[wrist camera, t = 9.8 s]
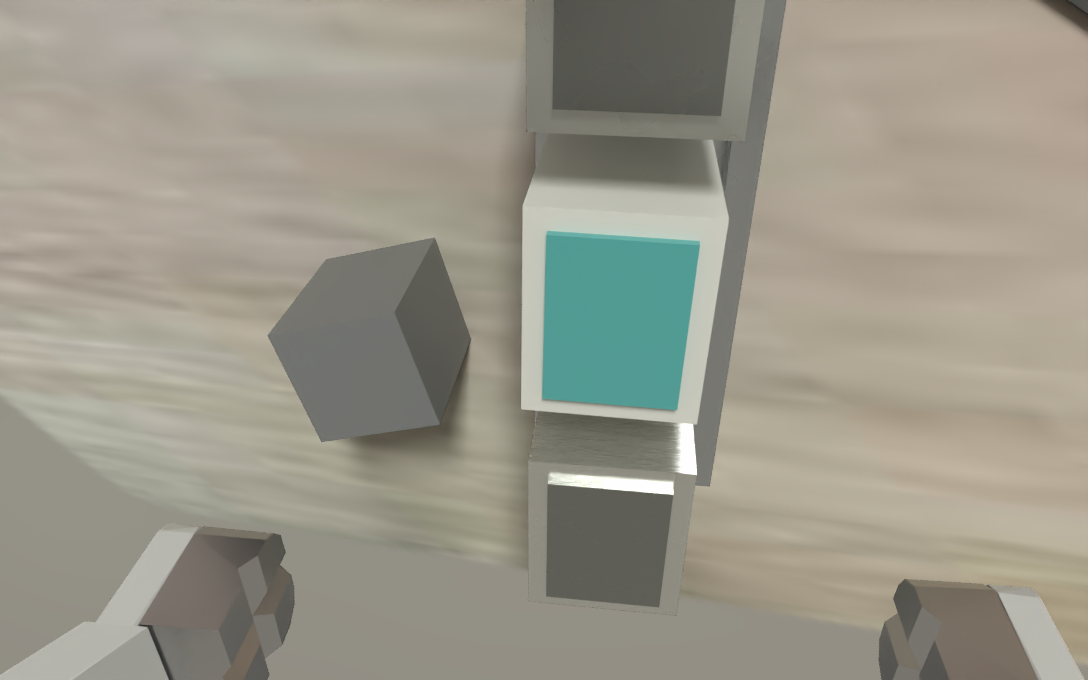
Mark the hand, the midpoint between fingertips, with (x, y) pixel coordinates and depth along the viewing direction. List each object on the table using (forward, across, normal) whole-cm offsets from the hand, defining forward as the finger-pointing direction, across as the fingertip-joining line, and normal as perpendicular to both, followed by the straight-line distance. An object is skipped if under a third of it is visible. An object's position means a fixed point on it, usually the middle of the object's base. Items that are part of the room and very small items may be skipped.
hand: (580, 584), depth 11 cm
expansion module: (+14, 0, 0) cm, 14 cm away
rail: (+16, -1, 0) cm, 16 cm away
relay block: (+16, +7, +5) cm, 19 cm away
